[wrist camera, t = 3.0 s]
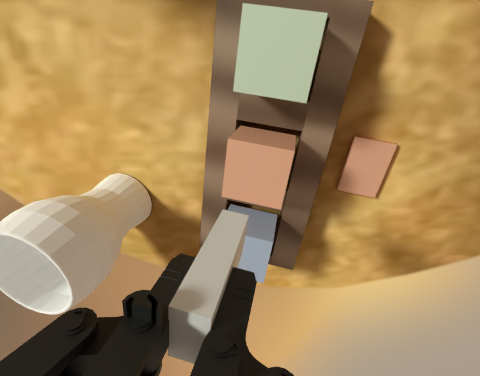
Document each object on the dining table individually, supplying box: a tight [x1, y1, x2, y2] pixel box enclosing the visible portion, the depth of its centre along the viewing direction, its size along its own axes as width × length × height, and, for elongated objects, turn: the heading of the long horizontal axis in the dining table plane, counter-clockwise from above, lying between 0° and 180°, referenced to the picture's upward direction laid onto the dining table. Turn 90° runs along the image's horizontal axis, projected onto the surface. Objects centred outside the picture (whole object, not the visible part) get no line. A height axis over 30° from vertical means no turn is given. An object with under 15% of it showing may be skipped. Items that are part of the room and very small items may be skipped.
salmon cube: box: [222, 126, 296, 210], centre depth 24 cm, size 5×5×5 cm
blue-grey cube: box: [228, 204, 277, 283], centre depth 28 cm, size 5×5×5 cm
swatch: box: [337, 136, 397, 198], centre depth 27 cm, size 6×4×1 cm, turn 172°
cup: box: [0, 173, 152, 314], centre depth 29 cm, size 11×11×15 cm
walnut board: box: [199, 0, 374, 270], centre depth 27 cm, size 27×12×3 cm, turn 172°
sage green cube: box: [233, 3, 328, 103], centre depth 20 cm, size 5×5×5 cm
